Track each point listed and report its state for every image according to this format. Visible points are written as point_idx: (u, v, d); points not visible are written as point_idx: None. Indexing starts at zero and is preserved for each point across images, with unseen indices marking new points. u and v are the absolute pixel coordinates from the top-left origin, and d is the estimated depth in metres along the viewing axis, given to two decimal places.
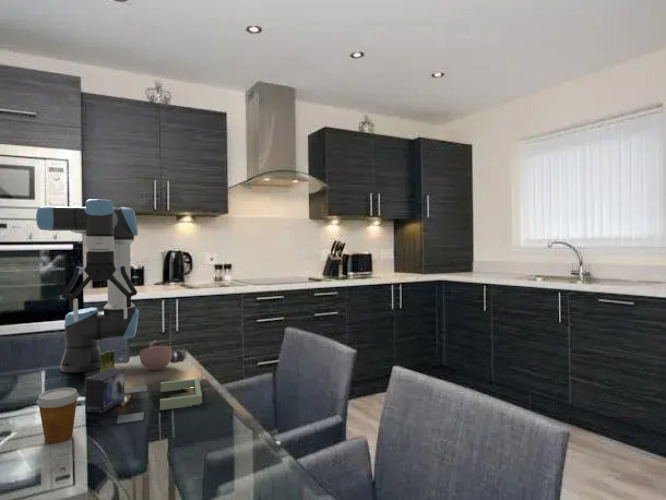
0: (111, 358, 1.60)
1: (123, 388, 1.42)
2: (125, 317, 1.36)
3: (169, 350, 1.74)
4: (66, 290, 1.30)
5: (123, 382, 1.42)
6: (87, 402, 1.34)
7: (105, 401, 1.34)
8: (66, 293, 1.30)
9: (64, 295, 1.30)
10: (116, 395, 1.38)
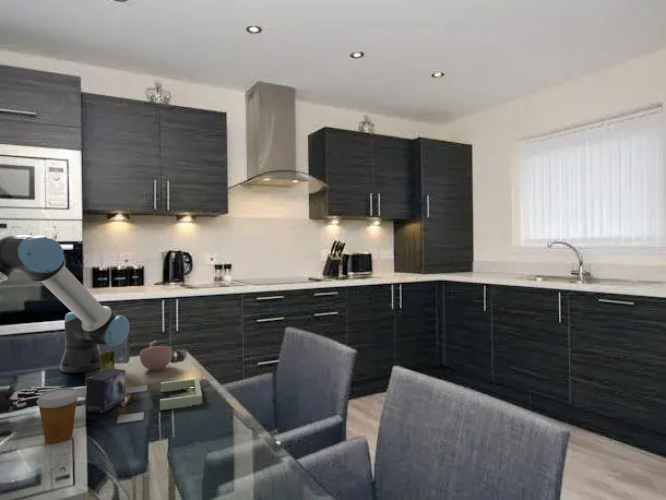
0: (111, 358, 1.60)
1: (124, 388, 1.42)
2: None
3: (169, 350, 1.74)
4: None
5: (124, 382, 1.42)
6: (88, 402, 1.34)
7: (106, 401, 1.34)
8: None
9: None
10: (117, 395, 1.38)
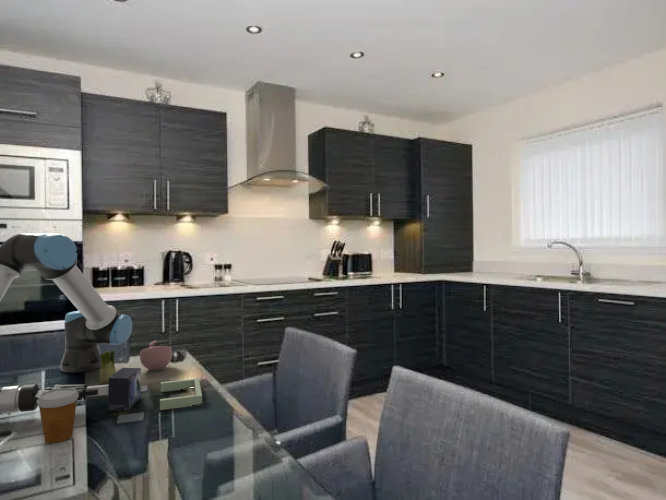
0: (111, 358, 1.60)
1: (140, 385, 1.44)
2: None
3: (169, 350, 1.74)
4: None
5: (140, 380, 1.44)
6: (110, 401, 1.34)
7: (130, 398, 1.36)
8: None
9: None
10: (136, 392, 1.40)
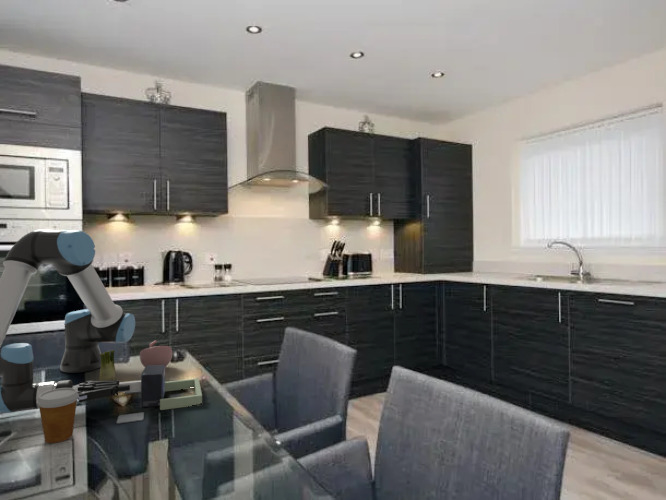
0: (111, 358, 1.60)
1: None
2: None
3: (169, 350, 1.74)
4: None
5: None
6: (143, 398, 1.37)
7: (162, 394, 1.40)
8: None
9: None
10: (164, 388, 1.44)
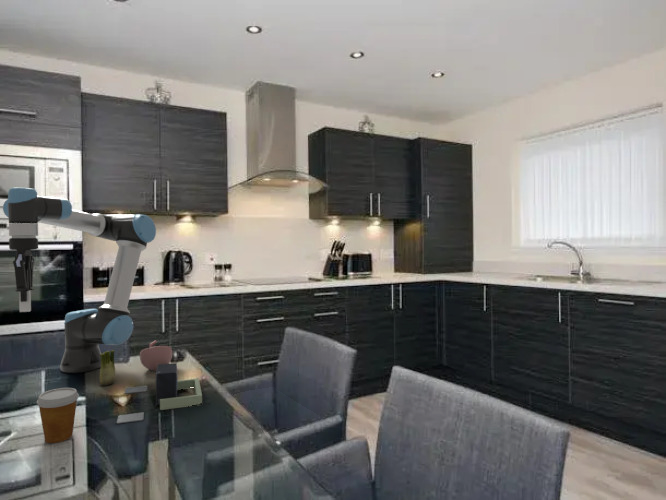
0: (111, 358, 1.60)
1: None
2: None
3: (169, 350, 1.74)
4: None
5: None
6: (158, 396, 1.39)
7: (176, 391, 1.42)
8: None
9: None
10: None
